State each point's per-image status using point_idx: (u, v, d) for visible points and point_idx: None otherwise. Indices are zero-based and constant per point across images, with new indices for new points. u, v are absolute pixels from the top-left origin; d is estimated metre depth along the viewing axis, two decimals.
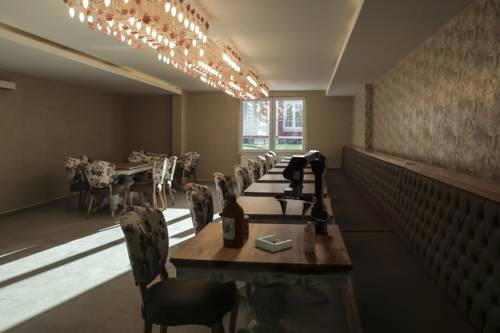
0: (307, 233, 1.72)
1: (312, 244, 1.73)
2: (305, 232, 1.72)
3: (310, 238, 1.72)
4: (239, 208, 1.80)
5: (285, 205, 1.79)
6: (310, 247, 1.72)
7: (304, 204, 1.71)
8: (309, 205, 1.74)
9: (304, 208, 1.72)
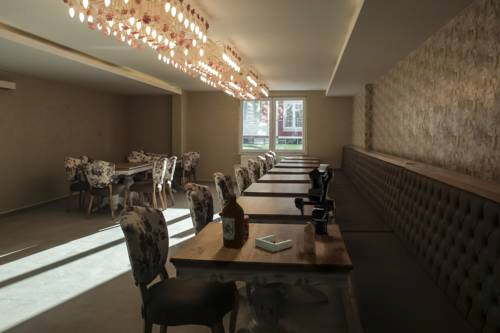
0: (307, 233, 1.72)
1: (312, 244, 1.73)
2: (305, 232, 1.72)
3: (310, 238, 1.72)
4: (239, 208, 1.80)
5: (303, 210, 1.86)
6: (310, 247, 1.72)
7: (325, 205, 1.81)
8: (328, 210, 1.83)
9: (324, 210, 1.81)
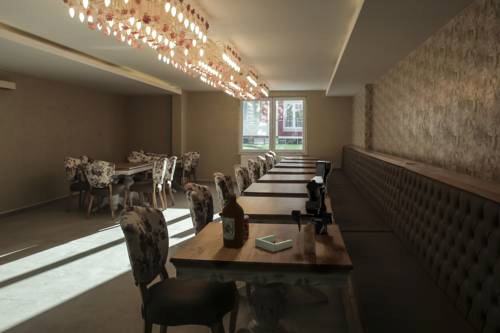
0: (306, 233, 1.72)
1: (312, 244, 1.73)
2: (305, 232, 1.72)
3: (310, 238, 1.72)
4: (239, 208, 1.80)
5: (300, 223, 1.80)
6: (310, 247, 1.72)
7: (323, 218, 1.75)
8: (326, 223, 1.78)
9: (322, 223, 1.75)
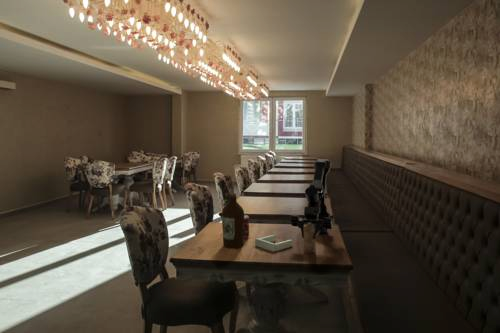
0: (307, 233, 1.72)
1: (312, 244, 1.73)
2: (305, 232, 1.72)
3: (310, 238, 1.72)
4: (239, 208, 1.80)
5: None
6: (310, 247, 1.72)
7: (318, 224, 1.74)
8: (320, 229, 1.76)
9: (317, 228, 1.73)
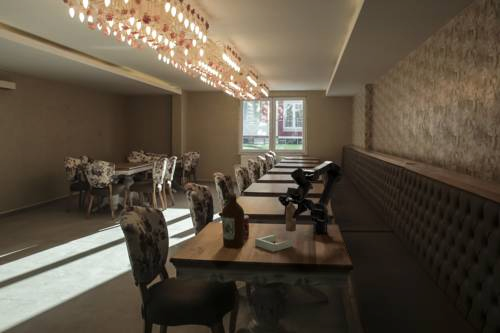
0: (287, 212, 1.83)
1: (292, 223, 1.83)
2: (286, 211, 1.84)
3: (290, 217, 1.83)
4: (239, 208, 1.80)
5: None
6: (290, 226, 1.83)
7: (298, 204, 1.83)
8: (303, 210, 1.85)
9: (297, 209, 1.83)
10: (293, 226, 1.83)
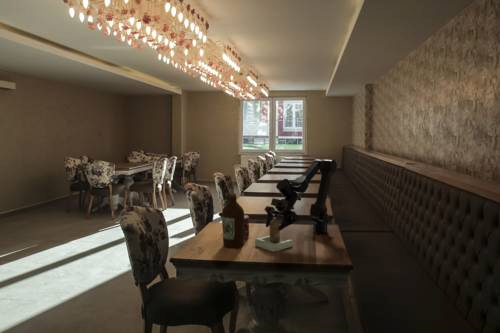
0: (270, 228, 1.82)
1: (275, 239, 1.81)
2: None
3: (273, 233, 1.81)
4: (239, 208, 1.80)
5: (272, 219, 1.88)
6: (273, 241, 1.82)
7: (284, 217, 1.79)
8: (290, 222, 1.81)
9: (283, 221, 1.79)
10: (276, 242, 1.82)
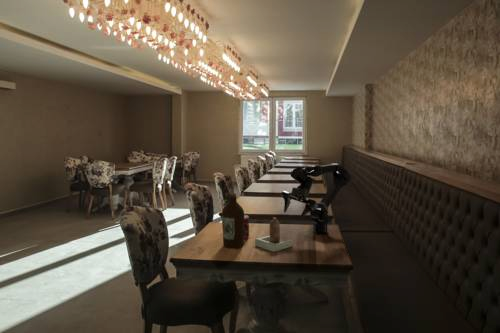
0: (270, 228, 1.82)
1: (275, 239, 1.81)
2: None
3: (273, 233, 1.81)
4: (239, 208, 1.80)
5: (288, 204, 1.96)
6: (273, 241, 1.82)
7: (306, 206, 1.88)
8: (310, 209, 1.91)
9: (305, 209, 1.89)
10: (276, 242, 1.82)
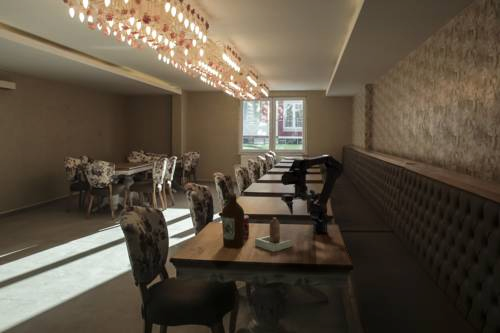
0: (270, 228, 1.82)
1: (275, 239, 1.81)
2: None
3: (273, 233, 1.81)
4: (239, 208, 1.80)
5: None
6: (273, 241, 1.82)
7: (312, 202, 1.96)
8: None
9: (311, 205, 1.97)
10: (276, 242, 1.82)
